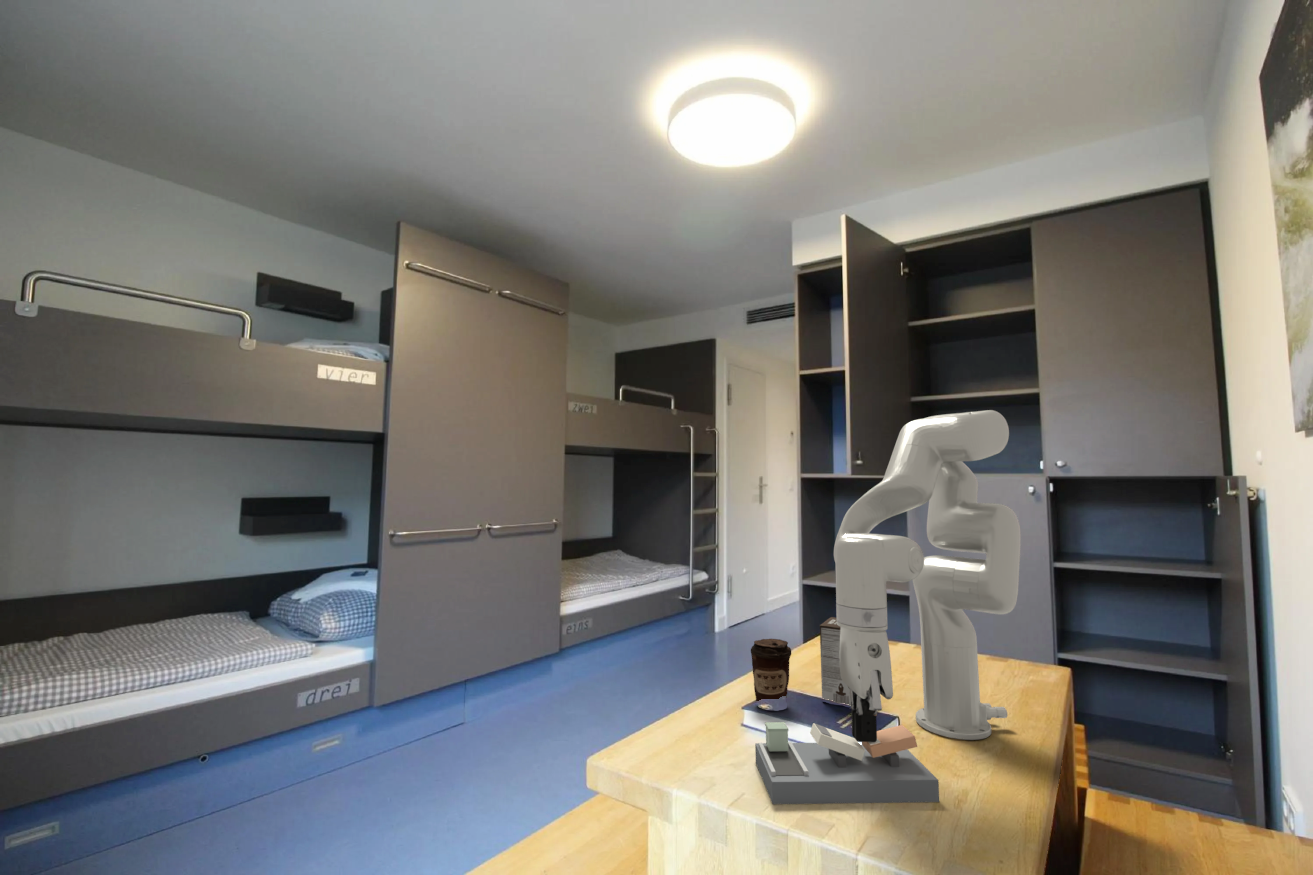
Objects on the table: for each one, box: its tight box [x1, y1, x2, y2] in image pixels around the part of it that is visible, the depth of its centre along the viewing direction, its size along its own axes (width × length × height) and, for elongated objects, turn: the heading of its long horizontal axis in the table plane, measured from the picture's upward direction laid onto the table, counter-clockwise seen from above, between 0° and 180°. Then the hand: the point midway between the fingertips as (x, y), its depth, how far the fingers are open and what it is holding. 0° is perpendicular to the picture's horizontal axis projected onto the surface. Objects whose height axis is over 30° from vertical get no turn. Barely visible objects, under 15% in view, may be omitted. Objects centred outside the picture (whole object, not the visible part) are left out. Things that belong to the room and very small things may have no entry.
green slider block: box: [764, 721, 789, 751], centre depth 88 cm, size 3×2×3 cm
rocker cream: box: [809, 723, 865, 761], centre depth 85 cm, size 7×4×2 cm, turn 91°
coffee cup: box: [750, 638, 792, 702], centre depth 114 cm, size 9×8×13 cm
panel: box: [754, 741, 940, 805], centre depth 85 cm, size 24×12×5 cm, turn 91°
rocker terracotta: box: [862, 724, 918, 758], centre depth 85 cm, size 7×4×2 cm, turn 91°
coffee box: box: [819, 616, 851, 705], centre depth 118 cm, size 9×6×16 cm
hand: (864, 738), depth 85 cm, fingers closed
